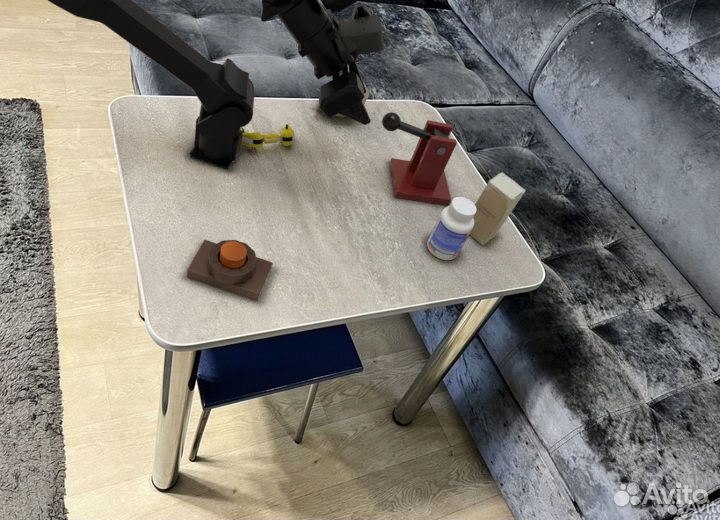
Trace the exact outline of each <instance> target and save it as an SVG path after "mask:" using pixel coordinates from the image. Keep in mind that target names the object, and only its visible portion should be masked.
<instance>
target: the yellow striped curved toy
mask: <svg viewBox="0 0 720 520" xmlns="http://www.w3.org/2000/svg"><path fill="white" fill-rule="evenodd" d="M240 132H242V133H243V137H242V144H241V145H244V146H246V149H248V150H249V151H253V150H255V151H256V149H261V148H262V147H263V145H264V144H265V145H267V144H276V143H279V142H280V143H281V144H282V145H283V147H285V148H287V147H288V146H291V145H292V144H293V143H294V142H295V132H294V129H292V127H291V126H290V125H289V124H285V125H284V128H283V129H282V130H281V131H280V135H279V133H278V132H277V133H275V132H273V133H263V134H262V133H261V132H248V131H246V130H245V129H244V127H240Z"/></svg>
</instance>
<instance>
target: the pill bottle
mask: <svg viewBox="0 0 720 520" xmlns="http://www.w3.org/2000/svg"><path fill="white" fill-rule="evenodd" d="M475 204H476V203H474V202H473V201H472V200H471V199H469V198H467V197H463V196H457V197H454V198H453V199H451V202H450V204H449V205H447V206H446V207H444V209H442V210H441V213H440V215H439V216H438V218H437V221H436V223H435V225H434V226H433V228H432V231H431V232H430V235H429V237H428V239H427V242H426V245H427V249H428V251H429V252H430V254H431V255H433V256H434V257H436V258H437V259H440V260H444V261H451V260H453V259H455V258H457V257H458V255H459V253H460V252H461V250H462V248H463V246H464V244H465V242H466V241H467V239H468V237H469V236H470V232H471V230H472V228H473V226H474V219H473V217H474V215H475V213H476V206H475Z"/></svg>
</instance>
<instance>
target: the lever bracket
mask: <svg viewBox="0 0 720 520" xmlns="http://www.w3.org/2000/svg"><path fill="white" fill-rule="evenodd" d="M434 128H435V129H438V130H440V131H443V132H445V133H448V136H449V138H445V137H439V136H433V135H431V137H430V139H429V141H428V142H427V140H425V139H423V138H420V137H419V139H418V141H417V144H416V147H415V148H414V151H413V154H412V156H411V158H410V160H407V159H401V158H394V157H391V158H390V160H389V163H388V165H389V170H390V177H391V182H392V183H391V184H392V189H393V195H394V198H395V199H401V200H402V199H403V200H407V201H408V200H409V201H415V202H422V203H428V204H429V203H430V204H434V205H435V204H436V205H443V206H450V204H451V202H452V197H451V193H450V189H449V185H448V182H447V181H448V180H447V178H446V174H445V169H446V167H447V165H448V163H449V161H450V158H451V157H452V155H453V153H454V150H455V148H456V147H457V144H458V142H457V139H455V138H450V135H451V133H452V131H453V128H454V127H453V124H450V123H445V122H440V121H435V120H429V119H427V120H426V122H425V125H424V127H423V130H425V131H428V132H430V133H431V132H432V130H433V129H434Z"/></svg>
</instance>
